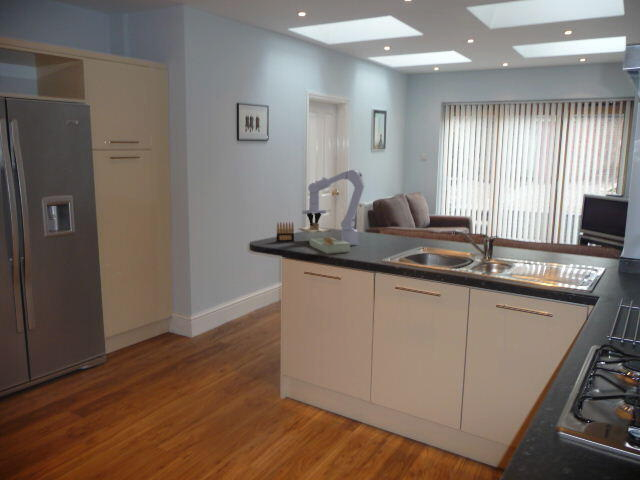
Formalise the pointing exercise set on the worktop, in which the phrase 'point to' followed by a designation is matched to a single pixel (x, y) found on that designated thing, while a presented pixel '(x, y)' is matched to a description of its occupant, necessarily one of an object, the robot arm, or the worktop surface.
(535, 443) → the worktop surface
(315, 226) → the lid
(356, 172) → the robot arm
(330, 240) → the block
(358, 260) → the worktop surface
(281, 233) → the ammunition clip
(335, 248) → the flat box
